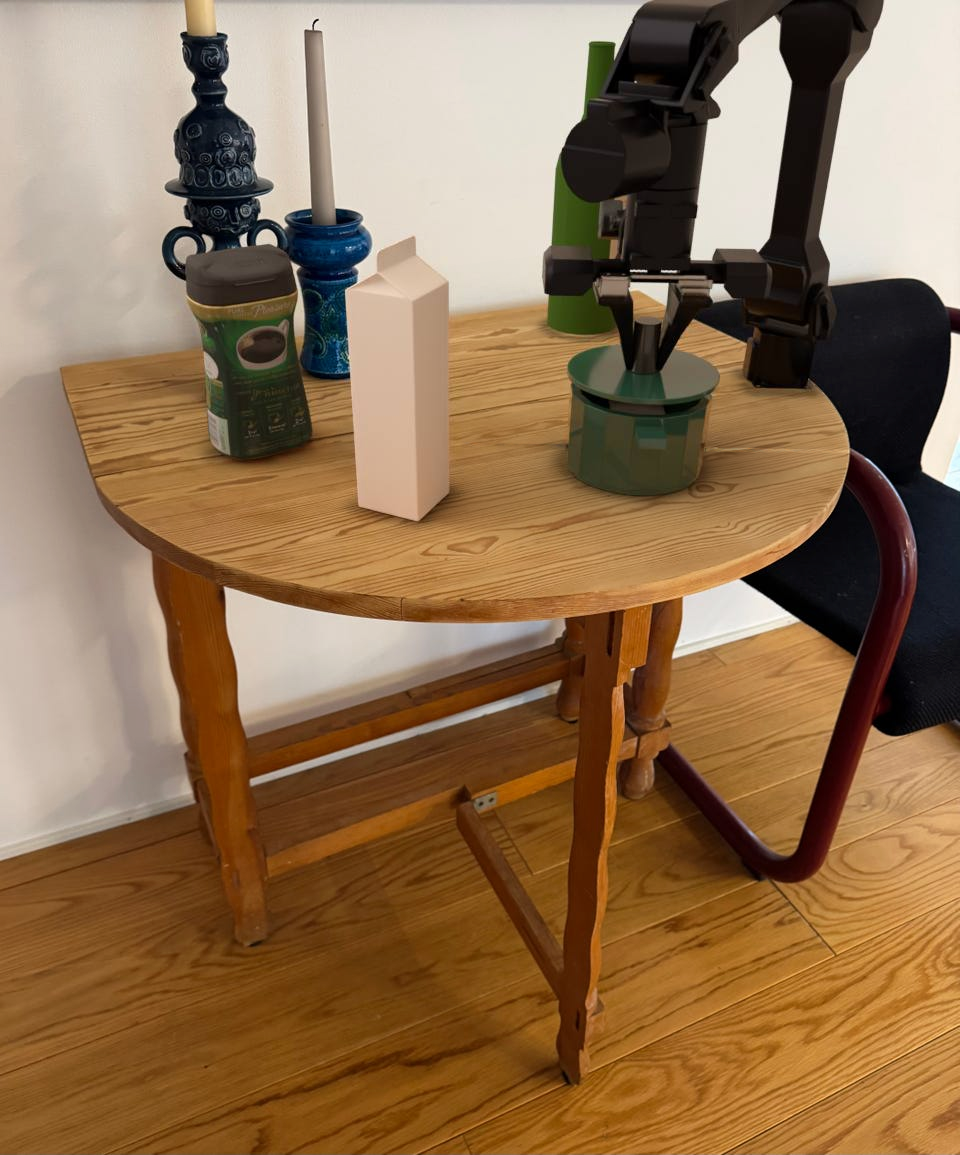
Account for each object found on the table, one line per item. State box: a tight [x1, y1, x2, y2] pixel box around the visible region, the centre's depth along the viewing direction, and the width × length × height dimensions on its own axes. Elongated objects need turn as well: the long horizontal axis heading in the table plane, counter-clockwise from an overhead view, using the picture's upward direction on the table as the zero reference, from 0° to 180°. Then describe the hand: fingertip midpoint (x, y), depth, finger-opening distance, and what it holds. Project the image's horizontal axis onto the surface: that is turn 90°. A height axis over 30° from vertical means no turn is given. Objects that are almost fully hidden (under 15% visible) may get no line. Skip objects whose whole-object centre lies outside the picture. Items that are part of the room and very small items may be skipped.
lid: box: [566, 316, 721, 405], centre depth 84 cm, size 14×14×6 cm
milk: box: [344, 235, 450, 522], centre depth 78 cm, size 6×6×22 cm
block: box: [607, 400, 666, 415], centre depth 89 cm, size 5×5×5 cm
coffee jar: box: [184, 243, 314, 461], centre depth 88 cm, size 10×8×19 cm
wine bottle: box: [546, 40, 627, 336], centre depth 115 cm, size 9×9×32 cm
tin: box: [565, 382, 713, 497], centre depth 88 cm, size 13×18×8 cm
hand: (643, 368), depth 85 cm, fingers closed on lid, 2 cm apart
